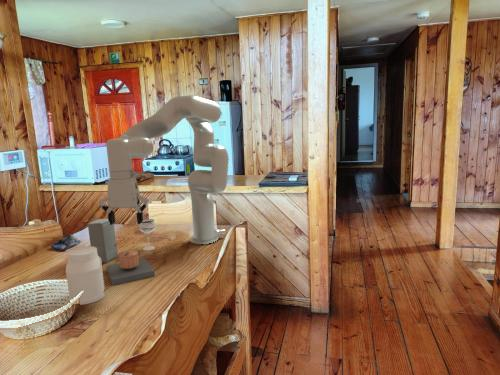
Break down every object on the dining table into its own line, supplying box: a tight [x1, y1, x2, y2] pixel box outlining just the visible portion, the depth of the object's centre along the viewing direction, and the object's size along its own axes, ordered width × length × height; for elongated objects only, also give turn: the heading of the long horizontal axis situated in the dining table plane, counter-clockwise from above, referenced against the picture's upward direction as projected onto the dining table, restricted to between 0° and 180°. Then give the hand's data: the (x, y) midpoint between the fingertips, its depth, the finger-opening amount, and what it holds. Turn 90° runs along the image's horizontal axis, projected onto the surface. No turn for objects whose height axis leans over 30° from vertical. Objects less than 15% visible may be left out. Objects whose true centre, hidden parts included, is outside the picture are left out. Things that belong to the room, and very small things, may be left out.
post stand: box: [106, 257, 155, 286], centre depth 135 cm, size 14×14×7 cm
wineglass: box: [138, 218, 156, 251], centre depth 160 cm, size 7×7×12 cm
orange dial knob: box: [118, 249, 140, 269], centre depth 134 cm, size 6×6×5 cm
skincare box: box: [87, 218, 119, 264], centre depth 149 cm, size 8×7×16 cm
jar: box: [65, 245, 105, 306], centre depth 118 cm, size 12×10×15 cm
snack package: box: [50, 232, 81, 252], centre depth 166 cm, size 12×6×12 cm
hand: (126, 223), depth 132 cm, fingers open, 9 cm apart
